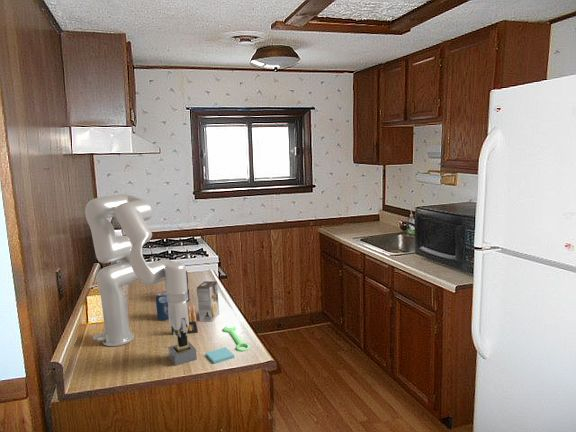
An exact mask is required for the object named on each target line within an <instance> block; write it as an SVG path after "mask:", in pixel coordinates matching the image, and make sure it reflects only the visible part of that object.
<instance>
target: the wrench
mask: <svg viewBox="0 0 576 432" xmlns="http://www.w3.org/2000/svg"><path fill="white" fill-rule="evenodd" d="M222 329H223V332H225V333H229V334H230V336H231V337H232V339H233V340H234V341H235V343H236V344H237V345H236V351H238V352H246V351H248V350H250V345H249V344H248V343H245V342H243V340H241V338H239V336H238V334H237V333H236V332H235V331H236V330H237V328H236V326H233V327H229V328H228V327H227V326H225V327H223V328H222ZM240 347H246V348H240Z"/></svg>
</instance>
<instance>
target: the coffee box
mask: <svg viewBox="0 0 576 432" xmlns="http://www.w3.org/2000/svg"><path fill="white" fill-rule="evenodd" d="M196 293H197V294H196V296H197V303H198V304H197V305H198V314H199V315H198V316H199V321H200V322H213V321H214V320H215V319H216V318H217V317H218V316H219V315H220V308H219V307H220V306H219V305H220V304H219V294H218V293H219V292H218V282H217V280H216V281H212V280H211V281H207V280H206V281H203V282H202V283H200V284H199V285H198V286H197V287H196Z"/></svg>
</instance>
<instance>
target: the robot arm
mask: <svg viewBox="0 0 576 432" xmlns="http://www.w3.org/2000/svg"><path fill="white" fill-rule="evenodd" d="M84 214H85V219H86V221H87V224H88V226H89V228H90V231H91V237H92V243H93V247H94V252H95V258H96V260H97V261H98V262H99V263H100V264H108V263H113V262H117V261H119V263H118V262H117V263H114V264H111V265H107V266H106V267H105V266H104V267H103V268H101V269H99V270H98V271H97V273H96V275H95V280H96V284H97V287H98V291H99V295H100V299H101V300H100V302H101V307H102V317H103V325H104V330H103V332H101V333H100V334H95V335H92V338H93V339H92V340H93V341H96V340H97V342H100V341H101V343H103V344H102V345H104V346H105V345H106V347H118V346H122V345H125V344H128V343H130V342H132V341H133V340H134V339H135V333H134V332H132V331H131V329H130V320H129V319H130V318H129V311H128V301H127V296H126V294H125V293H124V291H123V290H122V289H121V288H122V287H124V286H127V285H130V284H132V283H134V282H136V281H137V280H139V281H140V283H141V284H142V285H144V286H152V285H155V284H158V283H160V282H163V281H165V291H166V295H167V302H168V315H169V320H168V323H169V325H170V326H172V327H173V328H174V332H176V331H178V333H179V337H178V343H179V347H183V346H186V345H188V342H189V341H188V342H187V335H188V334H187V328H188V329H189V319H188V304H187V303H186V301H187V300H188V291H187V278H186V271H187V268H186V265H185V264H184V263H183V262H180V261H173V260H171V259H169V258H163V259H161V260H160V259H159V260H157V261H154V262H151V263H150V262H149V263H147V261H146V260H145V258H144V255H143V246H145V245H146V244H147V243H148V242H149V241H150V240H151V239H152V237H153V232H152V231H151V229H150V228H149V226H148V224H147V223H146V221H149V220H150V219H151V218H152V217H153V208H152V206H151V205H150V203H149V202H147V201H146V200H145V199H142V198H140V197H137V196H133V195H132V194H131V195H130V194H126V193H123V194H122V193H121V194H114V195H113V194H112V195H106V196H99V197H95V198H92V199H91V200H89V201H88V202H87V203H86V206H85V209H84ZM114 217H115V219H116V221H117V223H118V224H119V226H120V228H121V229H122V231H123V232H124V234H125V235H118V236H116V233H115V232H116V231H115V227H114V225H113V224H112V223H111V221H110V220H108V218H114ZM180 330H182V331H180Z"/></svg>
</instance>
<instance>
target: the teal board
mask: <svg viewBox="0 0 576 432" xmlns="http://www.w3.org/2000/svg"><path fill="white" fill-rule="evenodd" d="M205 356H206V357H207V358H208V359H209V360H210V362H212V363H213V364H218V363H221V362H225V361H227V360H231V359H235V355H234V353H232V351H231V350H229V349H228V348H227V347H226V346H224V347H221V348H218V349H214V350H212V351H211V350H210V351H208V352H205Z"/></svg>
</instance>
